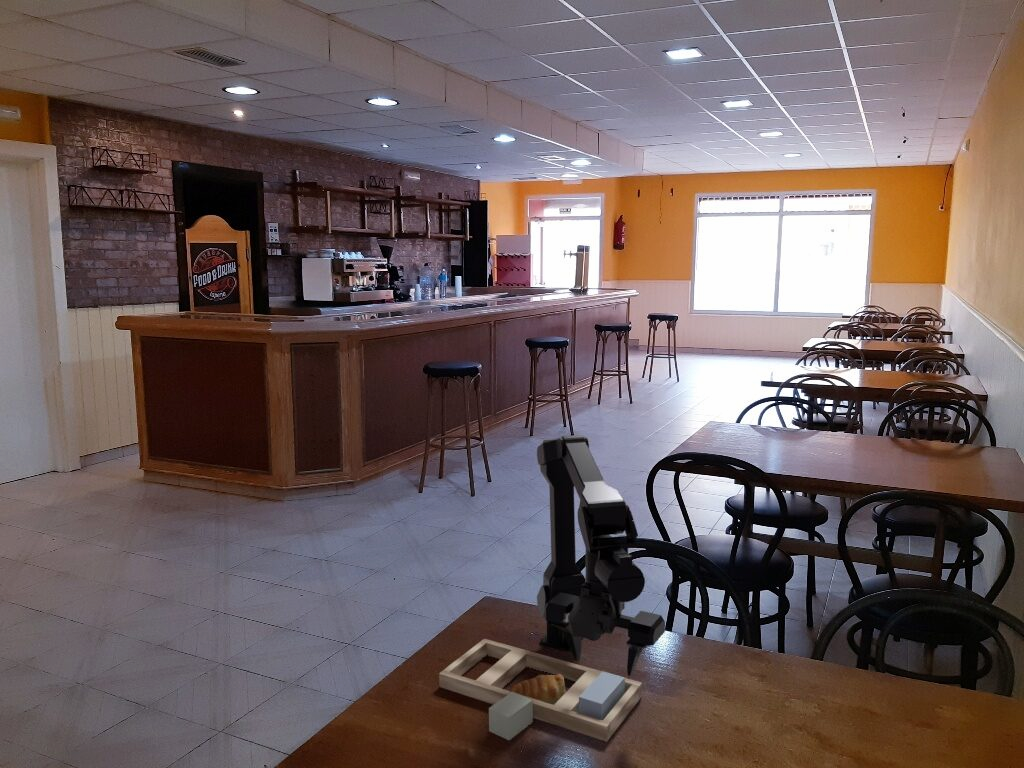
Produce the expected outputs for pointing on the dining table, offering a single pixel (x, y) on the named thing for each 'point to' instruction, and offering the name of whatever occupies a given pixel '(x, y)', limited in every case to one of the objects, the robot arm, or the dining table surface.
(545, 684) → the pastry
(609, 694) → the wing block
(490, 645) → the frame
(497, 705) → the block
